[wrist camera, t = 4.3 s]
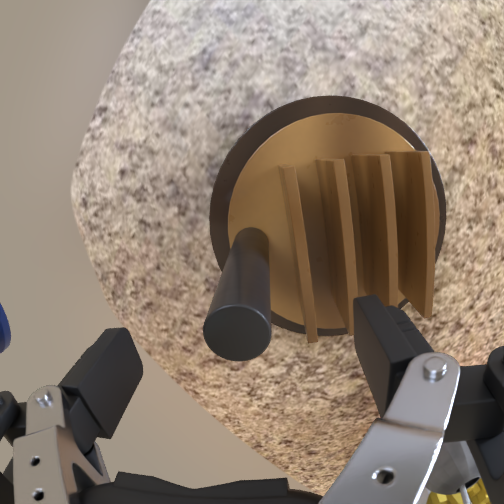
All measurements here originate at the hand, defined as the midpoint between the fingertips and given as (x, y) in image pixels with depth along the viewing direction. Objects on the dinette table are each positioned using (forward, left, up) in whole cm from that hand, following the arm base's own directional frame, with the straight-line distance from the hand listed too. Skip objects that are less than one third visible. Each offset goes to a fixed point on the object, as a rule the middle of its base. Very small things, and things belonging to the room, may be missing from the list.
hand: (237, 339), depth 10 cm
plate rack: (+6, +2, -13) cm, 14 cm away
